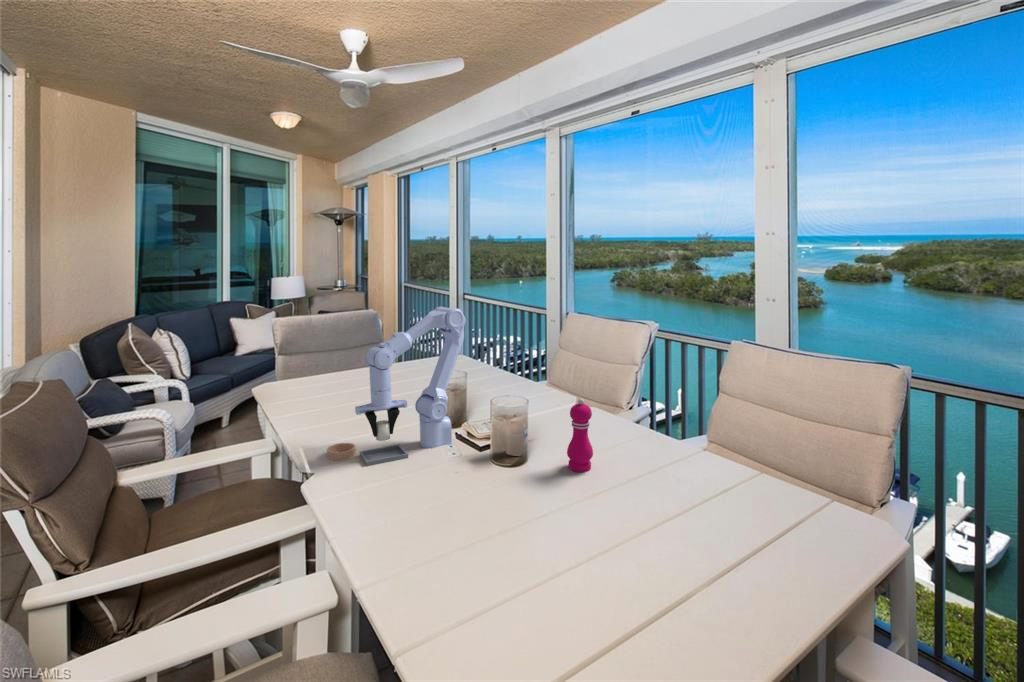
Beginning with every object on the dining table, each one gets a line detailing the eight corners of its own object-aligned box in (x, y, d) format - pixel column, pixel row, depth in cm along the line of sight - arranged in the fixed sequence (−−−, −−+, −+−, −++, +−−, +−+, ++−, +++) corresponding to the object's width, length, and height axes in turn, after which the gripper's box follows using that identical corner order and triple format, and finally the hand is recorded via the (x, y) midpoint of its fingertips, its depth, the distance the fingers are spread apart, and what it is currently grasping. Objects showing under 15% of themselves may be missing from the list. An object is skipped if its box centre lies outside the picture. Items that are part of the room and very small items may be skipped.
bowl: (352, 450, 150) (352, 441, 149) (358, 459, 143) (357, 449, 142) (325, 455, 146) (325, 445, 145) (330, 464, 139) (329, 454, 138)
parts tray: (399, 450, 150) (399, 444, 149) (408, 460, 142) (408, 453, 142) (359, 457, 144) (359, 451, 144) (366, 468, 136) (366, 462, 136)
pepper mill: (595, 464, 139) (597, 396, 136) (588, 474, 132) (590, 403, 129) (571, 460, 142) (572, 394, 139) (563, 470, 135) (564, 400, 132)
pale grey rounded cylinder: (388, 435, 145) (387, 419, 144) (391, 439, 141) (391, 423, 140) (374, 437, 143) (373, 421, 142) (378, 441, 139) (377, 425, 138)
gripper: (401, 382, 147) (403, 426, 149) (351, 389, 140) (354, 434, 142) (408, 388, 140) (410, 433, 143) (357, 394, 133) (359, 442, 136)
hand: (383, 434), depth 142 cm, fingers closed on pale grey rounded cylinder, 4 cm apart
